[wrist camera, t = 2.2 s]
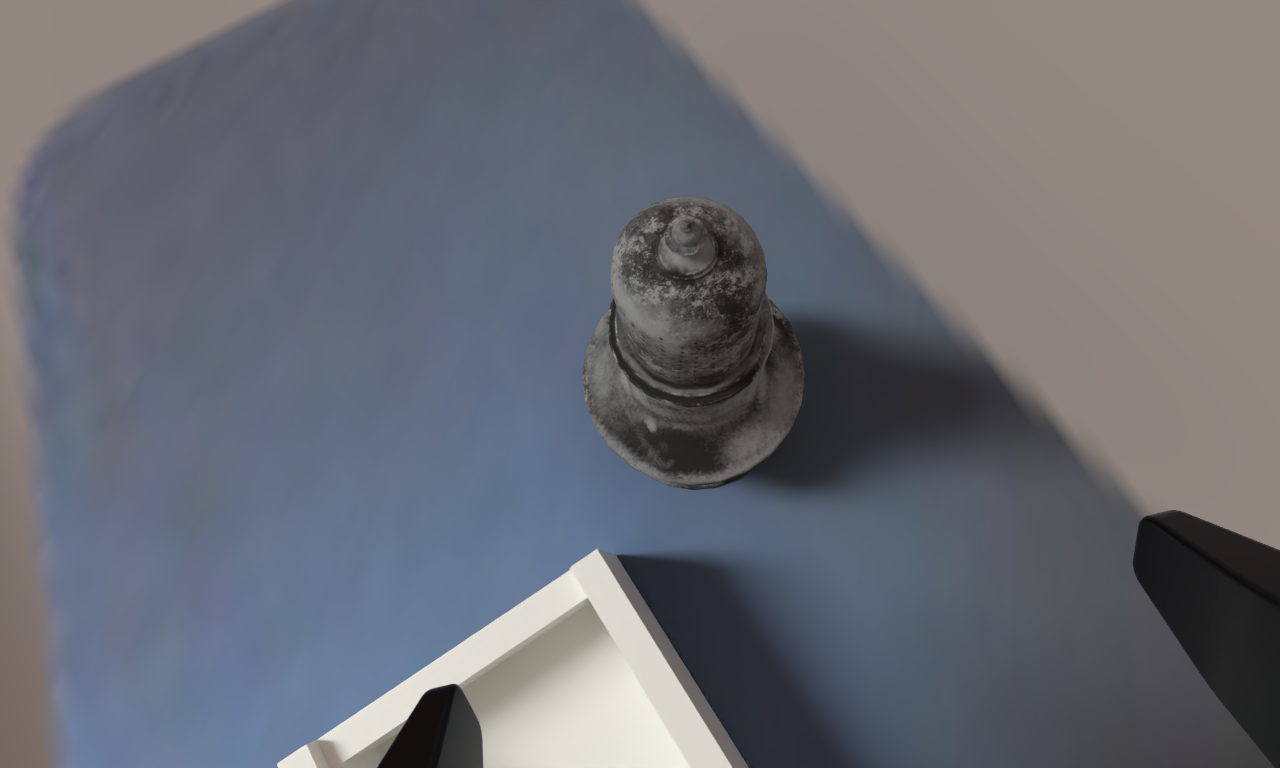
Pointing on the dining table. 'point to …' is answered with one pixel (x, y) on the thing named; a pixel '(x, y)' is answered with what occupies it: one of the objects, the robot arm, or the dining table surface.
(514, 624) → the box
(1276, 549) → the robot arm
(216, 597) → the dining table surface
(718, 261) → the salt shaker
